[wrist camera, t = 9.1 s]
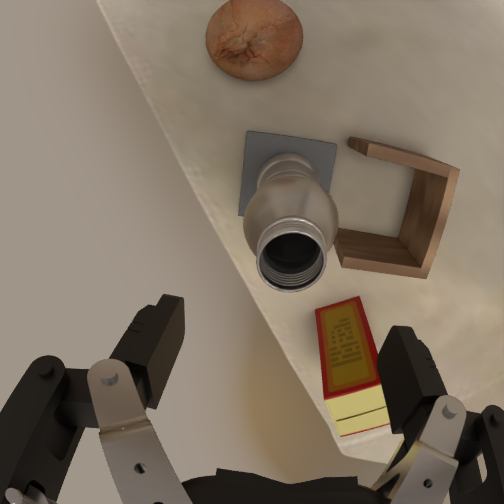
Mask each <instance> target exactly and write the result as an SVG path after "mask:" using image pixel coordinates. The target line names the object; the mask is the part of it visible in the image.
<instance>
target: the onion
mask: <svg viewBox="0 0 504 504" xmlns="http://www.w3.org/2000/svg"><path fill="white" fill-rule="evenodd" d="M302 42H303V30H302V26H301V23H300V21H299V19H298V17H297V15H296V14H295V13H294V12H293V11H292V9H291V8H290V7H288V6H287V5H286V4H285V3H283V2H281V1H280V0H230V1H228V2H227V3H225V4H224V5H222V6H221V7H220V8H219V9H218V10H217V11H216V12H215V14H214V15H213V16H212V18H211V20H210V22H209V24H208V27H207V31H206V47H207V50H208V53H209V55H210V57H211V59H212V61H213V62H214V63H215V64H216V65H217V66H218V67H219V68H220V69H221V70H223V71H224V72H226V73H227V74H229V75H231V76H234V77H236V78H239V79H244V80H265V79H268V78H271V77H274V76H276V75H278V74H280V73H282V72H283V71H285V70H286V69H287V68H288V67H289V66H290V65H291V64H292V63H293V62H294V61H295V59H296V58H297V55H298V53H299V51H300V50H301V47H302Z"/></svg>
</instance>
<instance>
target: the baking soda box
mask: <svg viewBox="0 0 504 504" xmlns="http://www.w3.org/2000/svg"><path fill="white" fill-rule="evenodd" d="M315 313H316V322H317V331H318V340H319V350H320V360H321V371H322V382H323V395H324V400H325V402H326V405H327V407H328V409H329V412H330V414H331V416H332V419H333V421H334V423H335V426H336V428H337V430H338V433H339V435H340V437H343V436H347V435H351V434H356V433H360V432H363V431H367V430H371V429H375V428H378V427H382V426H385V425H388V424H390V420H389V416H388V411H387V407H386V403H385V398H384V394H383V390H382V386H381V382H380V378H379V374H378V370H377V357H378V353H377V350H376V346H375V343H374V340H373V336H372V333H371V330H370V327H369V324H368V321H367V318H366V315H365V312H364V309H363V306H362V303H361V300H360V297H359V296H357V297H354V298H351V299H348V300H345V301H342V302H339V303H335V304H332V305H329V306H326V307H322V308H319V309H316V310H315Z"/></svg>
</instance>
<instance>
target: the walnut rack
mask: <svg viewBox="0 0 504 504" xmlns="http://www.w3.org/2000/svg"><path fill="white" fill-rule="evenodd" d="M349 147H350V148H352V149H354V150H356V151H358V152H360V153H362V154H364V155H365V156H368V157H372V158H377V159H381V160H385V161H389V162H393V163H397V164H401V165H405V166H409V167H412V168H416V171H415V176H414V180H413V185H412V189H411V193H410V197H409V201H408V205H407V209H406V213H405V216H404V220H403V224H402V227H401V231H400V234H399V237H398V238H393V237H388V236H382V235H377V234H371V233H365V232H359V231H353V230H347V229H341V228H338V231H337V234H336V237H335V240H334V242H333V244H334V246H335V249H336V252H337V255H338V258H339V261H340V264H341V267H343V268H350V269H357V270H364V271H371V272H379V273H386V274H393V275H400V276H407V277H414V278H422V279H427V276H428V273H429V271H430V268H431V266H432V263H433V260H434V257H435V255H436V252H437V249H438V246H439V243H440V240H441V237H442V234H443V231H444V227H445V224H446V221H447V218H448V214H449V211H450V207H451V204H452V200H453V196H454V192H455V188H456V184H457V180H458V176H459V171H460V169H458V168H455V167H453V166H451V165H448V164H446V163H443V162H441V161H438V160H436V159H433V158H430V157H428V156H425V155H421V154H418V153H414V152H411V151H407V150H404V149H400V148H396V147H393V146H389V145H385V144H381V143H377V142H372V141H368V140H364V139H359V138H355V137H350V141H349Z"/></svg>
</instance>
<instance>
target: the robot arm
mask: <svg viewBox="0 0 504 504" xmlns="http://www.w3.org/2000/svg"><path fill="white" fill-rule="evenodd" d="M184 334H185V316H184V298H183V297H178V296H173V295H166V294H163V295H162V297H161V298H160V300H159V302H158V304H157V305H156V306H154V305H147V306H146V307H144V308H143V309H141V310H140V311H138V313H137V314H136V316H135V317H134V319H133V321H132V323H131V324H130V325H129V327H128V329H127V330H126V332H125V333H124V335H123V336H122V338H121V339H120V341H119V343H118V344H117V346H116V348H115V349H114V351H113V352H112V354H111V356H110V357H109V359H104V360H101V361H99V362H97V363H95V364H94V365H92V366H91V368H90V369H71V368H65V366H64V364H63V362H62V361H61V360H60V359H59V358H58V357H55V356H50V355H47V356H42V357H39V358H37V359H36V360H34V361H33V362H32V364H31V365H30V366H29V368H28V369H27V371H26V372H25V374H24V375H23V377H22V378H21V380H20V381H19V383H18V384H17V386H16V388H15V389H14V391H13V392H12V394H11V395H10V397H9V399H8V400H7V402H6V404H5V405H4V407H3V409H2V411H1V412H0V504H57V503H56V501H57V498H58V495H59V493H60V490H61V487H62V484H63V481H64V479H65V476H66V474H67V471H68V468H69V466H70V463H71V461H72V458H73V456H74V453H75V451H76V448H77V446H78V443H79V441H80V439H81V436H82V434H83V431H84V429H85V427H89V428H100V432H99V438H100V442H101V445H102V448H103V451H104V454H105V457H106V460H107V463H108V466H109V469H110V471H111V474H112V477H113V479H114V482H115V485H116V487H117V490H118V492H119V495H120V497H121V500H122V502H123V504H442V503H443V501H444V499H445V497H446V494H447V492H448V490H449V495H450V502H451V504H504V411H503V410H502V409H501V408H500V407H498V406H496V405H489V406H487V407H486V408H485V409H484V410H483V411H482V412H481V414H480V413H475V412H470V411H466V409H465V407H464V405H463V404H462V402H461V401H460V400H459V399H457V398H456V397H453V396H450V395H448V394H447V391H446V389H445V386H444V384H443V381H442V379H441V376H440V374H439V372H438V369H437V368H436V365H435V362H434V360H432V359H433V358H432V356H431V353H430V351H429V349H428V348H427V347H426V345H425V344H424V343H423V342H422V341H421V340H418V339H417V337H416V335H415V333H414V331H413V329H412V327H408V326H395V325H394V326H392V327H391V329H390V331H389V333H388V335H387V337H386V339H385V341H384V343H383V346H382V348H381V350H380V352H379V354H378V357H377V370H378V374H379V378H380V382H381V386H382V390H383V394H384V398H385V403H386V407H387V411H388V416H389V420H390V425H391V430H392V434H402V433H403V434H404V439H403V440H402V441H401V442H400V444H399V446H398V448H397V449H396V451H395V453H394V455H393V456H392V458H391V460H390V461H389V463H388V465H387V466H386V468H385V470H384V471H383V473H382V474H381V476H380V477H379V478H378V480H377V481H376V482H375V483H374V484H373V485H372V486H371V487H370V488H368V487H366V486H362V485H358V479H357V476H355V477H324V478H321V479H315V480H311V481H306V482H301V483H295V484H285V483H282V482H279V481H275V480H271V479H269V478H266V477H262V476H259V475H257V474H253V473H246V472H239V471H232V470H226V469H219V468H217V471H216V475H215V476H203V477H198V478H193V479H190V480H187V481H184V482H182V483H181V482H180V481H179V479H178V477H177V475H176V473H175V471H174V469H173V467H172V465H171V463H170V461H169V459H168V458H167V455H166V453H165V452H164V449H163V447H162V445H161V443H160V441H159V439H158V437H157V434H156V432H155V430H154V428H153V425H152V424H151V422H150V420H149V419H148V417H147V415H146V412H145V410H146V408H147V407H148V408H152V409H157V406H158V404H159V401H160V398H161V396H162V393H163V390H164V388H165V386H166V383H167V380H168V378H169V375H170V373H171V370H172V368H173V365H174V363H175V361H176V358H177V356H178V353H179V351H180V348H181V346H182V343H183V339H184ZM482 453H483V456H484V460H485V464H486V469H487V477H486V479H485V481H484V482H483V483H482V479H481V474H480V470H479V465H478V461H477V457H478V456H479V455H480V454H482Z"/></svg>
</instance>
